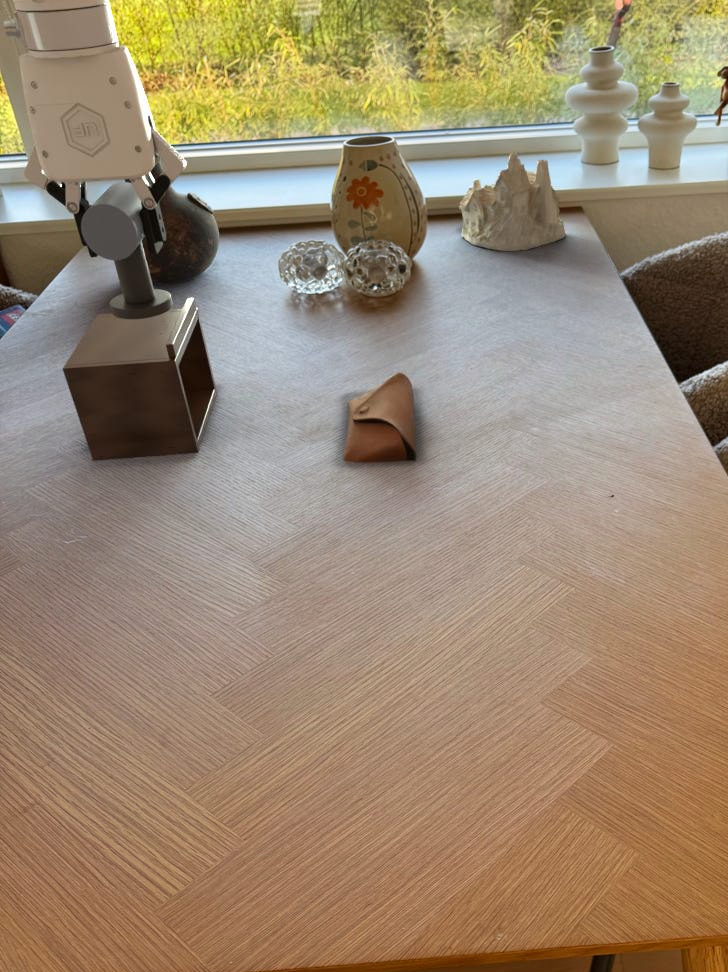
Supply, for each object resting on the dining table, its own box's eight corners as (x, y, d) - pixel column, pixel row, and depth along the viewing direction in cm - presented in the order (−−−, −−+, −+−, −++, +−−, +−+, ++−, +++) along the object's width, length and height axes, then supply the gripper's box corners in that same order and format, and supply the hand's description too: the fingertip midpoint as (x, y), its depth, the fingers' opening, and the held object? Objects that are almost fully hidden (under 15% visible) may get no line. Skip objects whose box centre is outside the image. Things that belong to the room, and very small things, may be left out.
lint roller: (103, 325, 94) (68, 206, 87) (122, 296, 100) (91, 183, 93) (164, 321, 94) (134, 202, 87) (180, 293, 100) (153, 180, 93)
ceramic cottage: (577, 236, 165) (573, 140, 156) (498, 259, 159) (489, 161, 150) (527, 222, 176) (520, 131, 167) (451, 243, 170) (440, 151, 161)
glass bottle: (229, 286, 154) (188, 87, 136) (115, 301, 150) (57, 99, 133) (223, 253, 167) (185, 69, 149) (117, 266, 164) (66, 79, 146)
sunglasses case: (343, 399, 117) (366, 352, 114) (395, 423, 120) (418, 377, 116) (340, 471, 103) (365, 420, 100) (398, 496, 106) (425, 447, 103)
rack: (92, 460, 109) (57, 355, 101) (122, 399, 122) (93, 301, 114) (198, 452, 110) (171, 347, 102) (217, 393, 122) (194, 295, 114)
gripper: (-47, 43, 79) (27, 269, 90) (160, 32, 79) (208, 258, 90) (-16, 31, 85) (51, 244, 96) (178, 21, 85) (221, 234, 96)
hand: (127, 249), depth 93 cm, fingers closed on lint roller, 5 cm apart
